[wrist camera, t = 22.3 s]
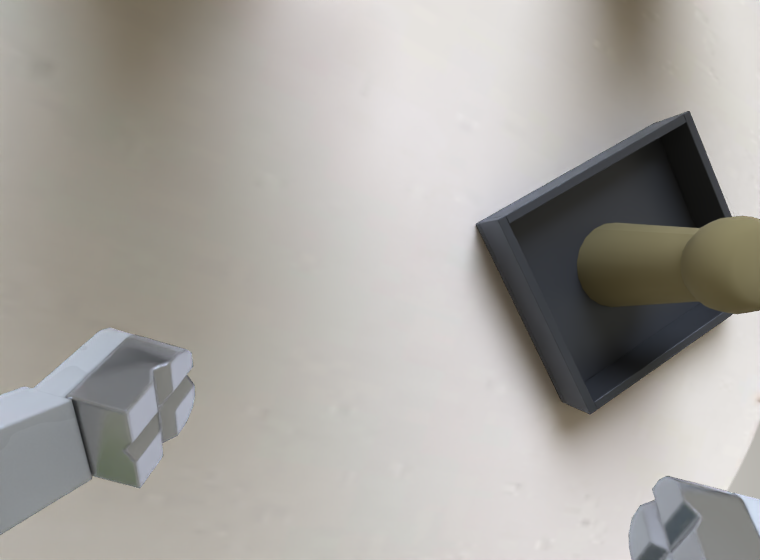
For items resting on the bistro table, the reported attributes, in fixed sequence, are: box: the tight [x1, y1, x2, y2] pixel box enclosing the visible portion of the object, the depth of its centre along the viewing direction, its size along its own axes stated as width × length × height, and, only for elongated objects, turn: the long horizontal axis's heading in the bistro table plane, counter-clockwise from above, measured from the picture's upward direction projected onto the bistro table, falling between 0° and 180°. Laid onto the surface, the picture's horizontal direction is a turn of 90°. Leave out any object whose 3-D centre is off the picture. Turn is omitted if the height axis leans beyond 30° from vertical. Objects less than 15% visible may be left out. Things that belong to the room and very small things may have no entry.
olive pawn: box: [577, 216, 760, 314], centre depth 30 cm, size 6×6×11 cm
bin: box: [476, 111, 732, 414], centre depth 35 cm, size 16×14×3 cm
